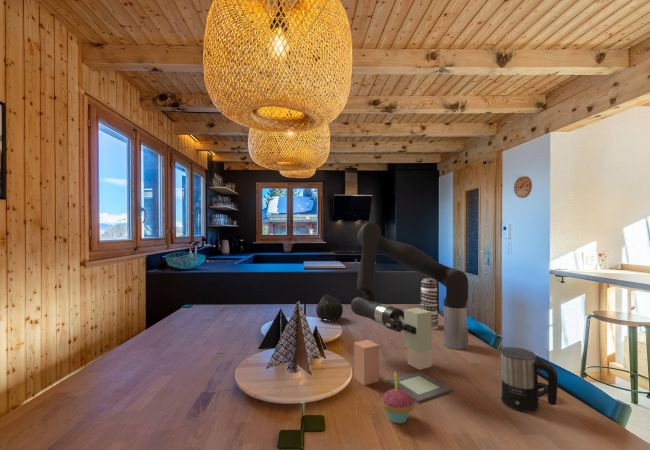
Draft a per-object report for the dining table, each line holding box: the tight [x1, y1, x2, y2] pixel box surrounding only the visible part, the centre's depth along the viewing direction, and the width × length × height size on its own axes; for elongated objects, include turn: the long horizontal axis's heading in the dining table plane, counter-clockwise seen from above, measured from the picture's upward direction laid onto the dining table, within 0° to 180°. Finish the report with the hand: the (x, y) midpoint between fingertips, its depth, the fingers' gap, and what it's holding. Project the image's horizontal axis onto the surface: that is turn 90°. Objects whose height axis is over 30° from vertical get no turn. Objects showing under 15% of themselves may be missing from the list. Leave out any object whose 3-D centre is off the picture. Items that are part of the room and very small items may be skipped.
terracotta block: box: [353, 339, 380, 386], centre depth 105 cm, size 6×6×12 cm
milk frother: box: [498, 346, 559, 413], centre depth 92 cm, size 14×16×15 cm
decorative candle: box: [419, 277, 439, 330], centre depth 163 cm, size 9×9×25 cm
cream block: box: [407, 348, 432, 371], centre depth 116 cm, size 6×6×12 cm
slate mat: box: [387, 371, 453, 404], centre depth 100 cm, size 14×14×1 cm
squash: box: [316, 294, 344, 322], centre depth 177 cm, size 14×15×15 cm
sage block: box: [403, 307, 433, 353], centre depth 100 cm, size 6×6×12 cm
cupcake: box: [381, 369, 415, 424], centre depth 83 cm, size 9×8×12 cm
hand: (423, 329), depth 98 cm, fingers closed on sage block, 6 cm apart
